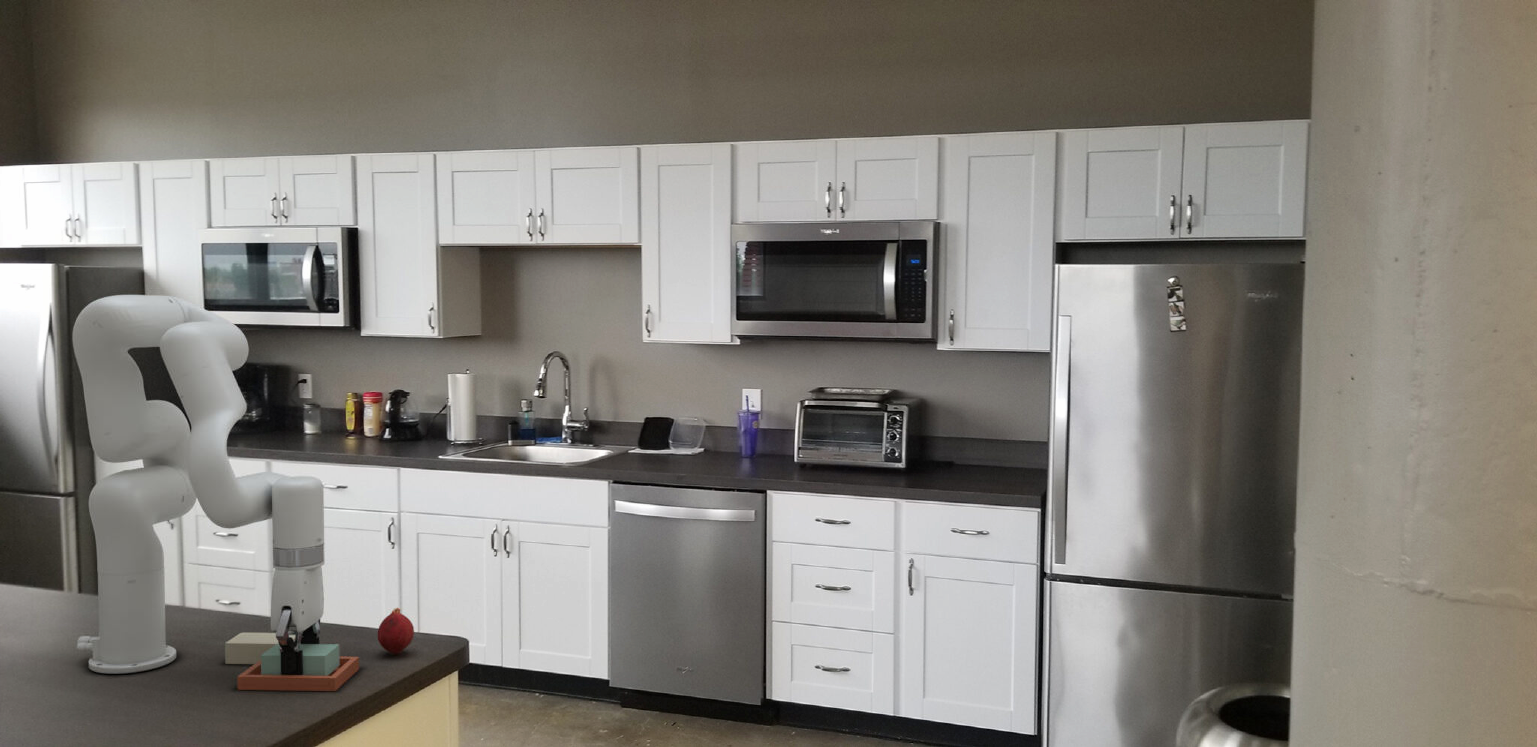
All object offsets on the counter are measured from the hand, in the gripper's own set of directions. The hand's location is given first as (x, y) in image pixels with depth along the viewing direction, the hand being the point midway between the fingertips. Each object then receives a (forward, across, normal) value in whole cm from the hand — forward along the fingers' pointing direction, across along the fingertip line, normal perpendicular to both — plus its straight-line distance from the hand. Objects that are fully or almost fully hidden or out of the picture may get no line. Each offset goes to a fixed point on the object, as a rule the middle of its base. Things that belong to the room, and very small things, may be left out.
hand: (300, 667), depth 183 cm
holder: (+2, 0, 0) cm, 2 cm away
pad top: (+2, -10, -10) cm, 14 cm away
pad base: (+1, 0, 0) cm, 1 cm away
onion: (+2, -13, +11) cm, 17 cm away
